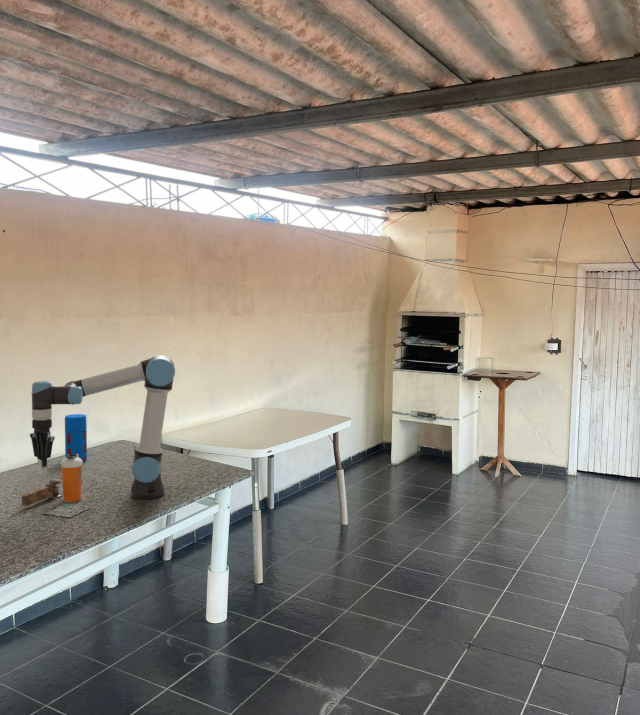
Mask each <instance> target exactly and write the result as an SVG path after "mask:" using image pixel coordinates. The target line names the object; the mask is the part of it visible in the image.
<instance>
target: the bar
mask: <svg viewBox="0 0 640 715" xmlns="http://www.w3.org/2000/svg"><path fill="white" fill-rule="evenodd" d="M61 480H62V479H60V478H59V479H58V478H55V479H53V478H52V479H51V480H49V481H48V483H46V484H45V486H43V487H39V488H37V489H35V490H31V491H29V492H27V493H24V494H22V495H21V506H22V507H29V506H31V505H34V504H37V503H39V502H42V501H43V500H45V499H49V498H48V497H51V496H53V486H54V485H59V484H61V483H62V481H61Z"/></svg>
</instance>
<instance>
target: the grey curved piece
mask: <svg viewBox="0 0 640 715" xmlns="http://www.w3.org/2000/svg"><path fill="white" fill-rule="evenodd" d="M59 489H60V488H59V484H56V485H54V486H53V496H51V497H48V498H47V499H50V498H51V500H53V499H54V498H57V499H59V498H60V497H61V498H62V497H63V493H60V492H59V491H60V490H59Z"/></svg>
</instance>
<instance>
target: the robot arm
mask: <svg viewBox="0 0 640 715" xmlns="http://www.w3.org/2000/svg"><path fill="white" fill-rule="evenodd" d="M175 374H176V368H175V363H174V362H173V360H172V359H171V357H169V356H167V355H163V354H160V355H159V354H158V355H155V356H153V357H150V358H147V359H145V360H141V361H139V363H138V364H134V365H131V366H127V367H124V368H120V369H115V370H112V371H108V372H105V373H101V374H97V375H93V376H89V377H87V378H82V379H79V380H71V381H69V382H66V383H65V384H64V385H63V386H55V385H54V386H53V384H52V382H51V381H46V380H41V381H40V380H38V381H34V382H33V383H32V384H31V385H32V386H31V418H32V420H31V428H32V429H34V430H33V432H32V433H30V434H29V437H30V440H31V445H32V451H33V457H34V458H37V465H38V466H37V467H38V475H39V476H43V475H46V474H47V473H48V472H47V466H48V459H50V458H52V457H51V456H52V451H53V444H54V440H55V436H54V435H51V428H52V427H53V419H52V418H53V416H52V413H53V412H52V411H53V410H52V409H53V406H52V405H72V406H73V405H81V404H82V402H83V398H84V397H87V396H91V395H94V394H98V393H101V392H104V391H105V392H106V391H109V390H113V389H116V388H121V387H124V386H129V385H131V384H136V383H140V382H144V388H145V390H146V397H145V403H144V412H143V418H142V425H141V432H140V438H139V439H140V441H139V444H136V445H134V449H133V455H134V456H133V462H132V465H131V473H132V476H133V477H134V479H133V481H132V485H131V487H130V488H131V489H130V497H132V498H133V499H134V498H135V499H140V500H149V499H156V498H160V497H163V496H164V495H165V494H166V492H165V491H166V489H165V485H164V482H163V479H162V469H161V468H162V460H163V459H162V458H163V452H164V450H163V449H162V448H161V443H162V441H161V440H162V434H163V428H164V420H165V414H166V407H167V400H168V394H169V393H170V392H171V391H172V390H173V382H174V377H175V376H176V375H175Z"/></svg>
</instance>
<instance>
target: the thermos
mask: <svg viewBox="0 0 640 715" xmlns="http://www.w3.org/2000/svg"><path fill="white" fill-rule="evenodd" d="M87 426H88V425H87V415H86V414H80V413H74V414H73V413H72V414H67V415H65V416H64V446H65V447H64V450H65V455H64V456H65V458H66V457H67V456H68V454H78V458H80V459H81V460H82V461H83V464H84V463H86V462H87V460H88V443H87V442H88V441H87V440H88V438H87V437H88V435H87V434H88V433H87V431H88V430H87V428H88V427H87Z"/></svg>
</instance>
